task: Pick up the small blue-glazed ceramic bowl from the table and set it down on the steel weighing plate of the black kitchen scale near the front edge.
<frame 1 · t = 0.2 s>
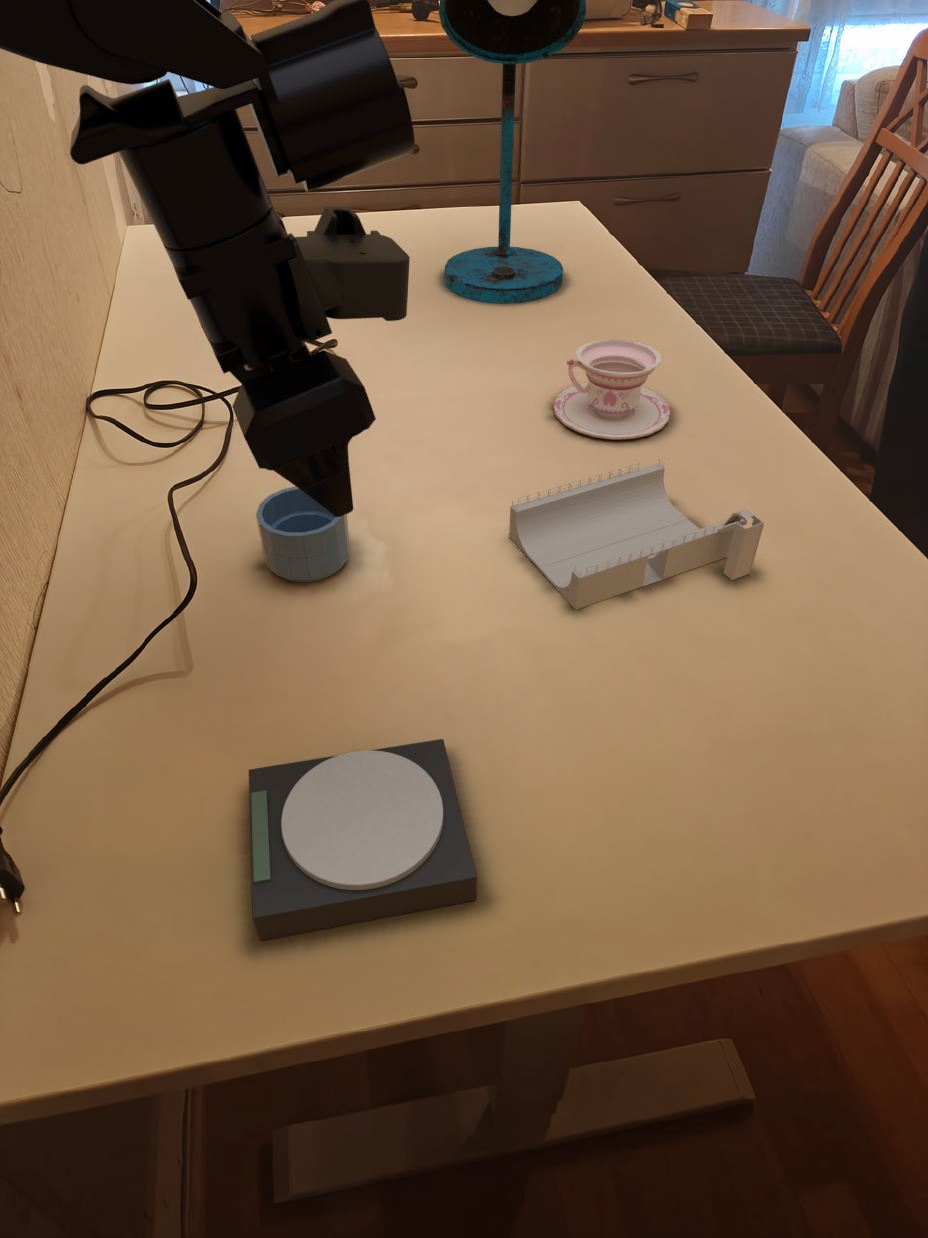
hand: (325, 474, 54), 15 cm above the table, tool pointing down, fingers open, 9 cm apart
desk lamp: (503, 287, 117), on the table
bowl: (308, 559, 72), on the table
skate ramp: (626, 557, 72), on the table
teacup: (610, 414, 91), on the table
scale: (359, 844, 51), on the table
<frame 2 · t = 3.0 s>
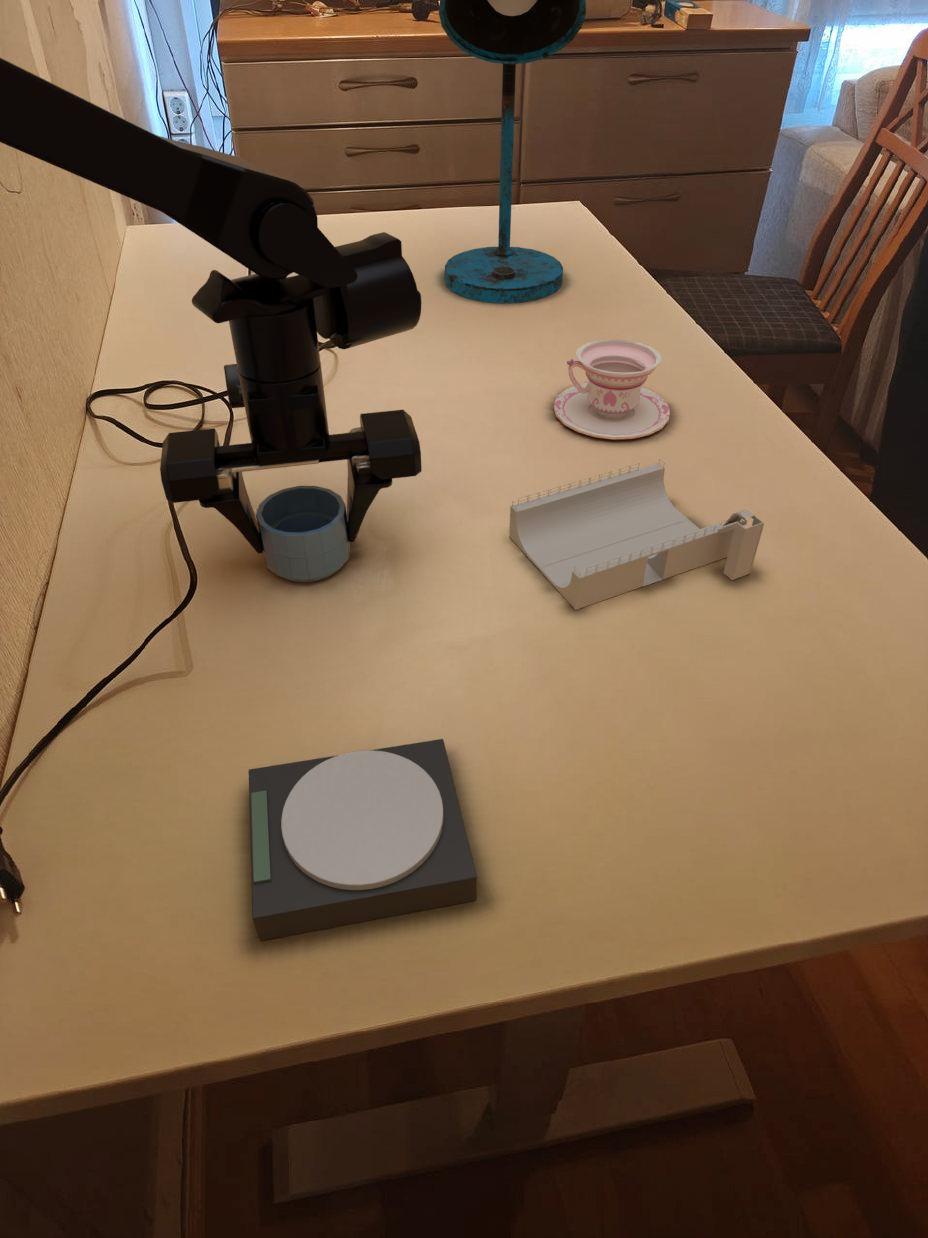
hand: (306, 544, 71), 2 cm above the table, tool pointing down, fingers closed on bowl, 7 cm apart
bowl: (308, 559, 72), on the table, touching gripper
everything else where it was.
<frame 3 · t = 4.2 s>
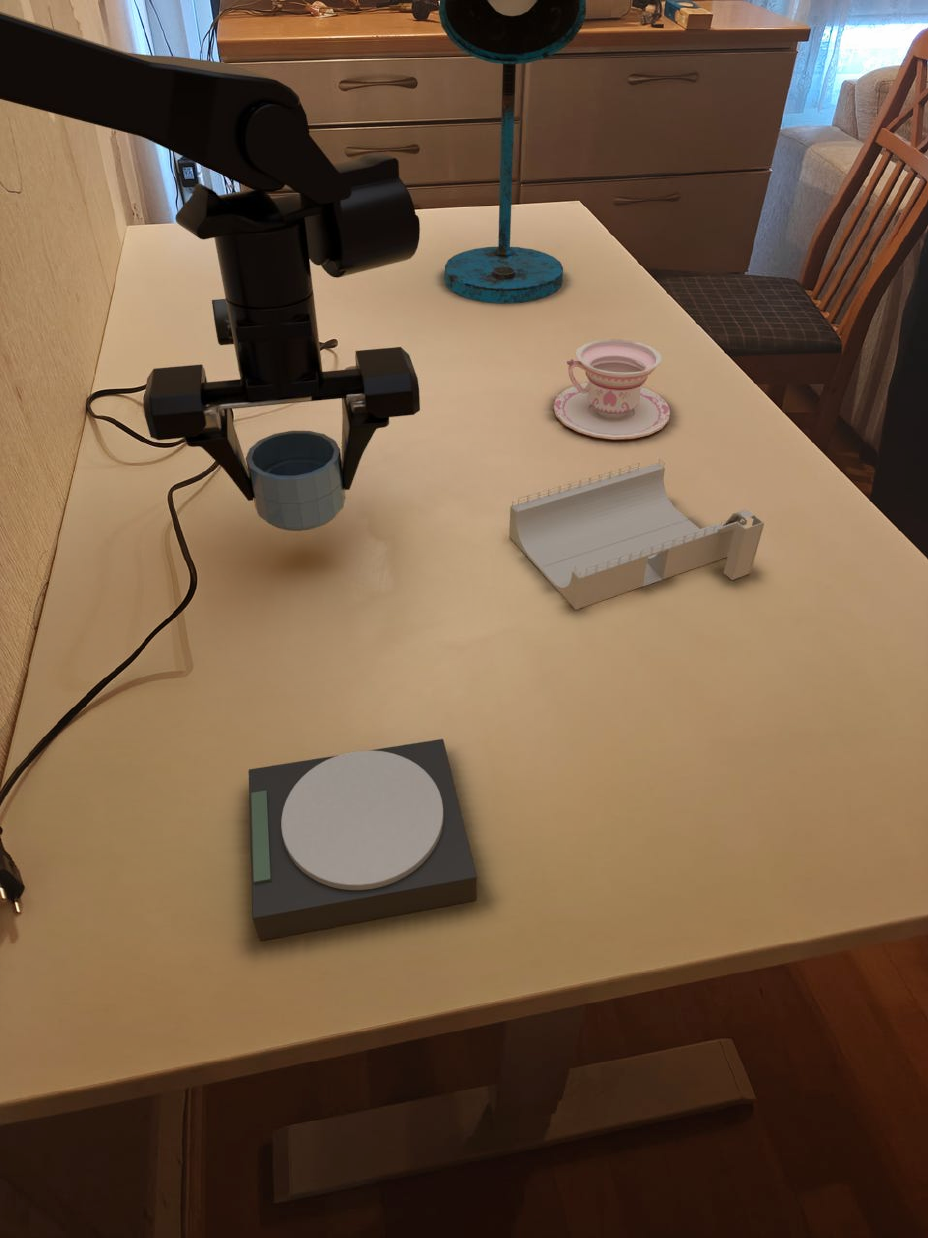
hand: (299, 492, 67), 7 cm above the table, tool pointing down, fingers closed on bowl, 7 cm apart
bowl: (301, 508, 69), point 5 cm above the table, touching gripper
everything else where it was.
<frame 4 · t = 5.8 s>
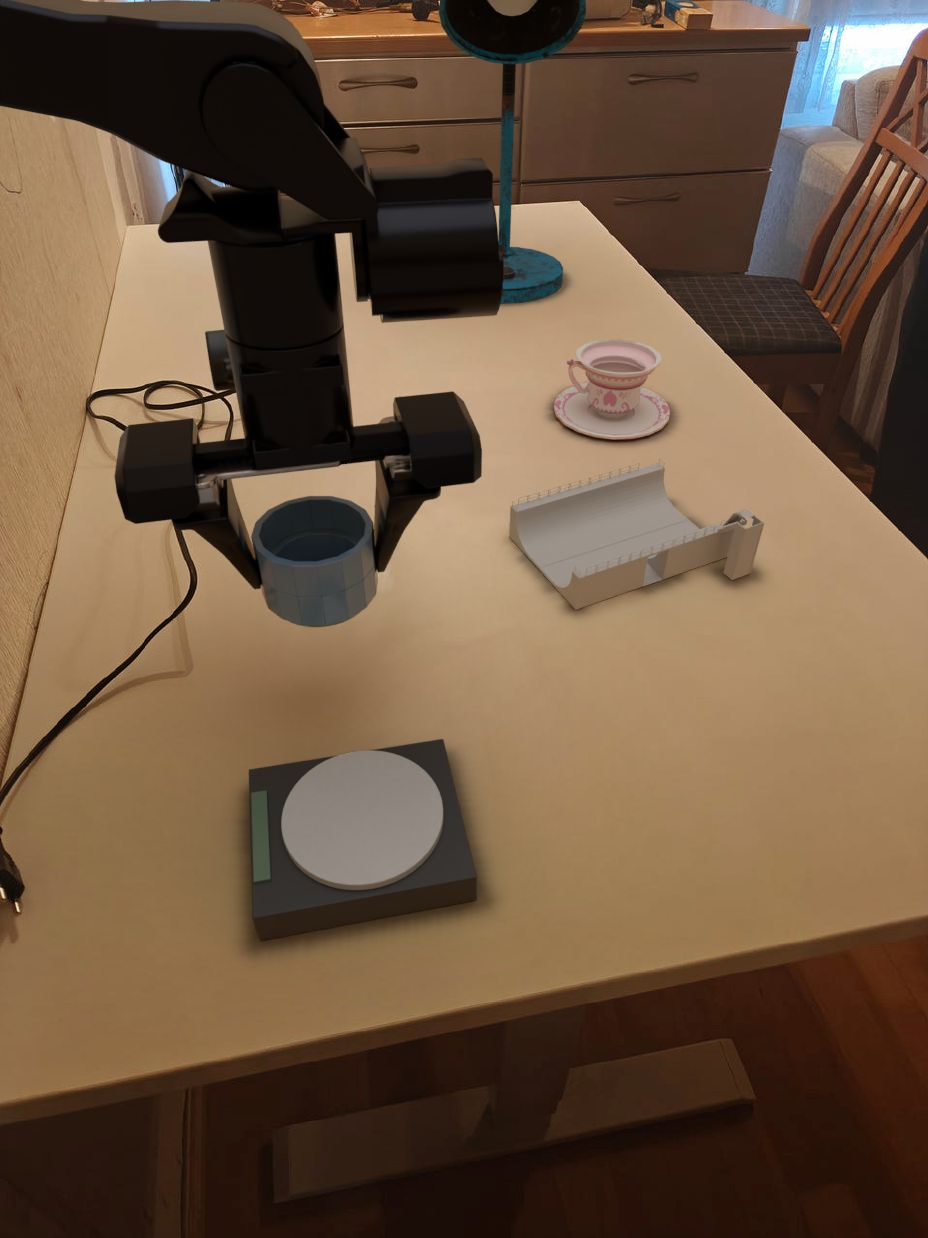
hand: (319, 576, 52), 11 cm above the table, tool pointing down, fingers closed on bowl, 7 cm apart
bowl: (322, 595, 54), point 10 cm above the table, touching gripper
everything else where it was.
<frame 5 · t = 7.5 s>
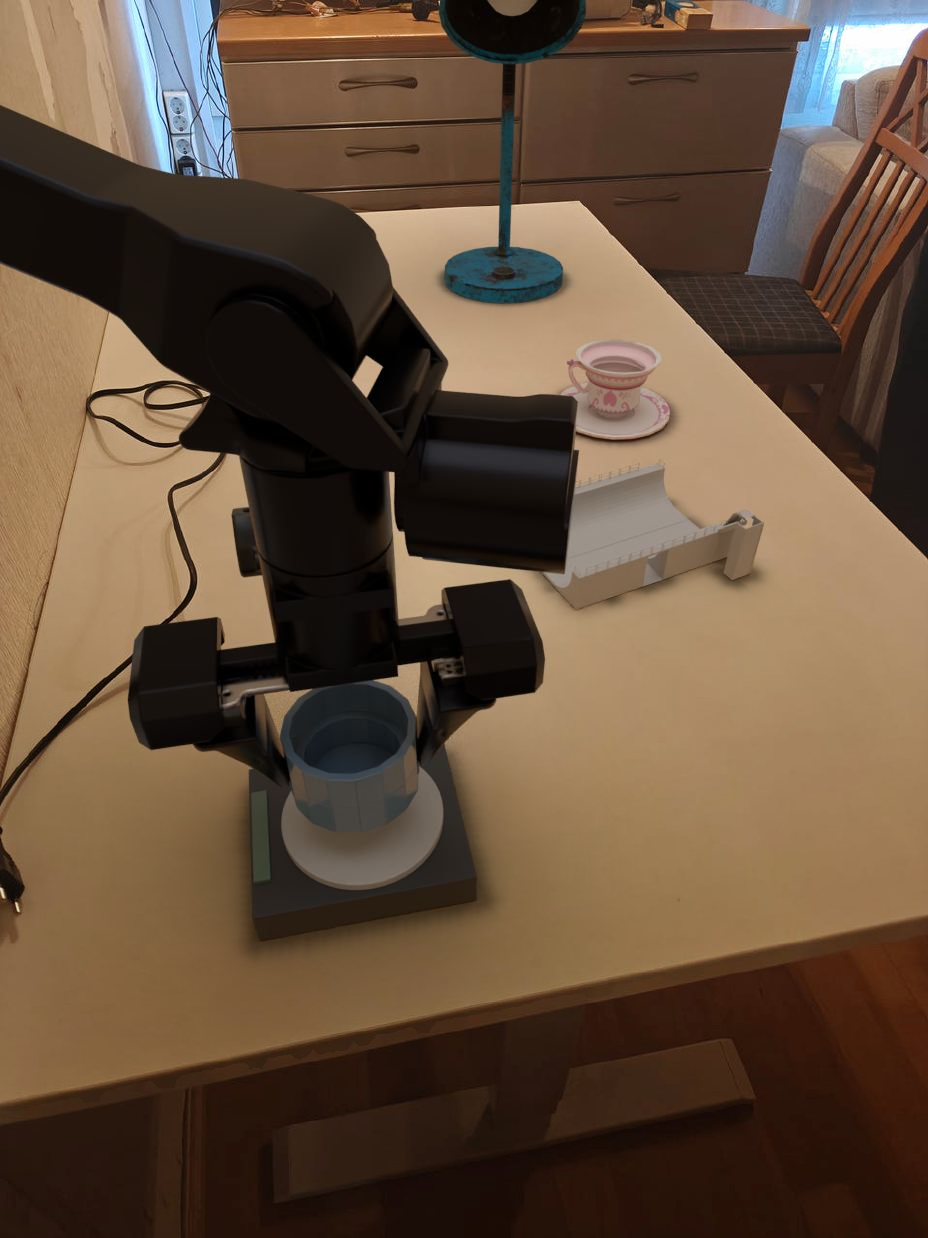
hand: (354, 769, 47), 7 cm above the table, tool pointing down, fingers closed on bowl, 7 cm apart
bowl: (356, 786, 48), point 5 cm above the table, touching gripper
everything else where it was.
when the fingers open (5 cm above the table, at t = 8.8 s): bowl stays where it is, resting on scale.
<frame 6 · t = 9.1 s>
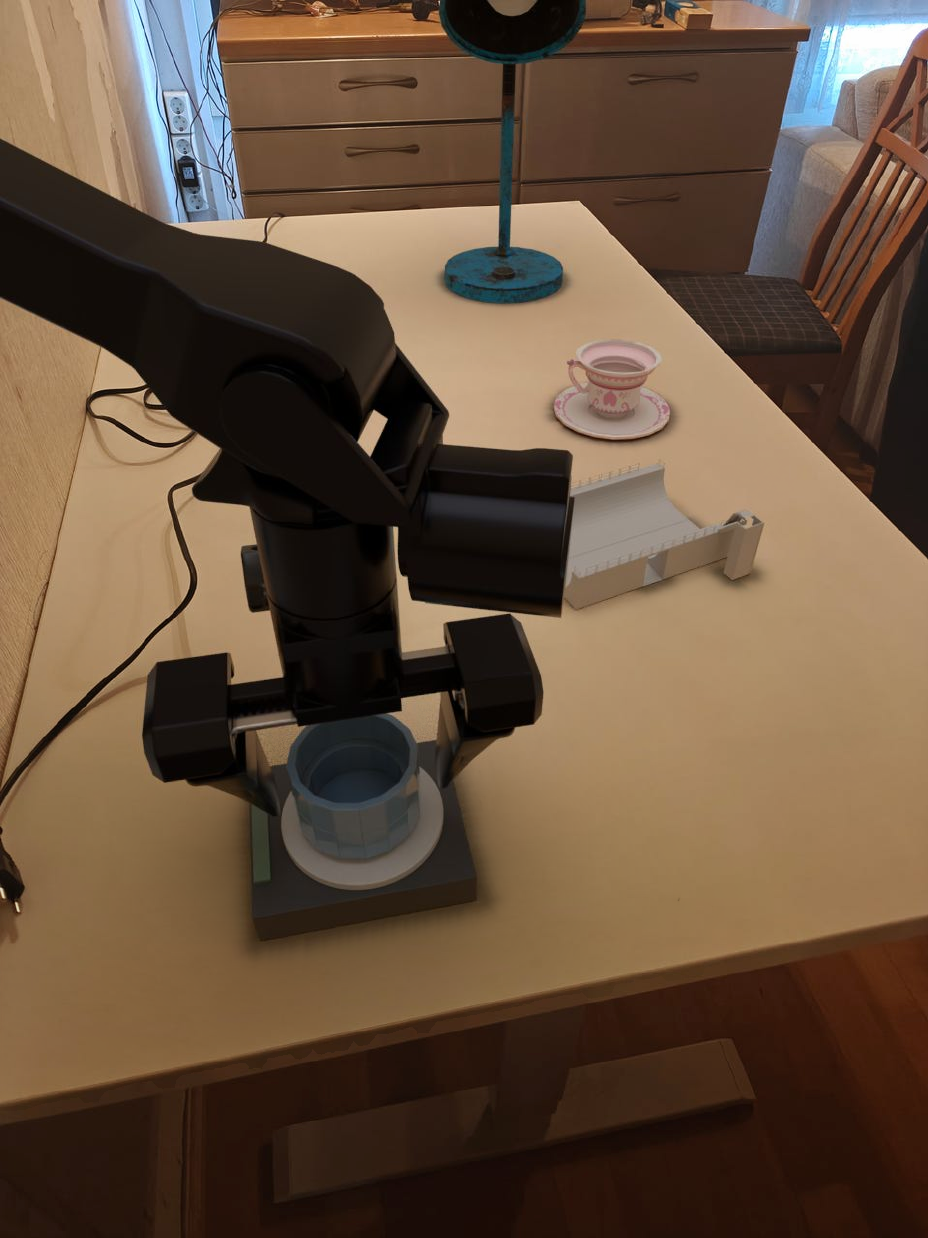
hand: (360, 795, 48), 5 cm above the table, tool pointing down, fingers open, 9 cm apart
bowl: (360, 812, 50), point 3 cm above the table, touching scale
everything else where it was.
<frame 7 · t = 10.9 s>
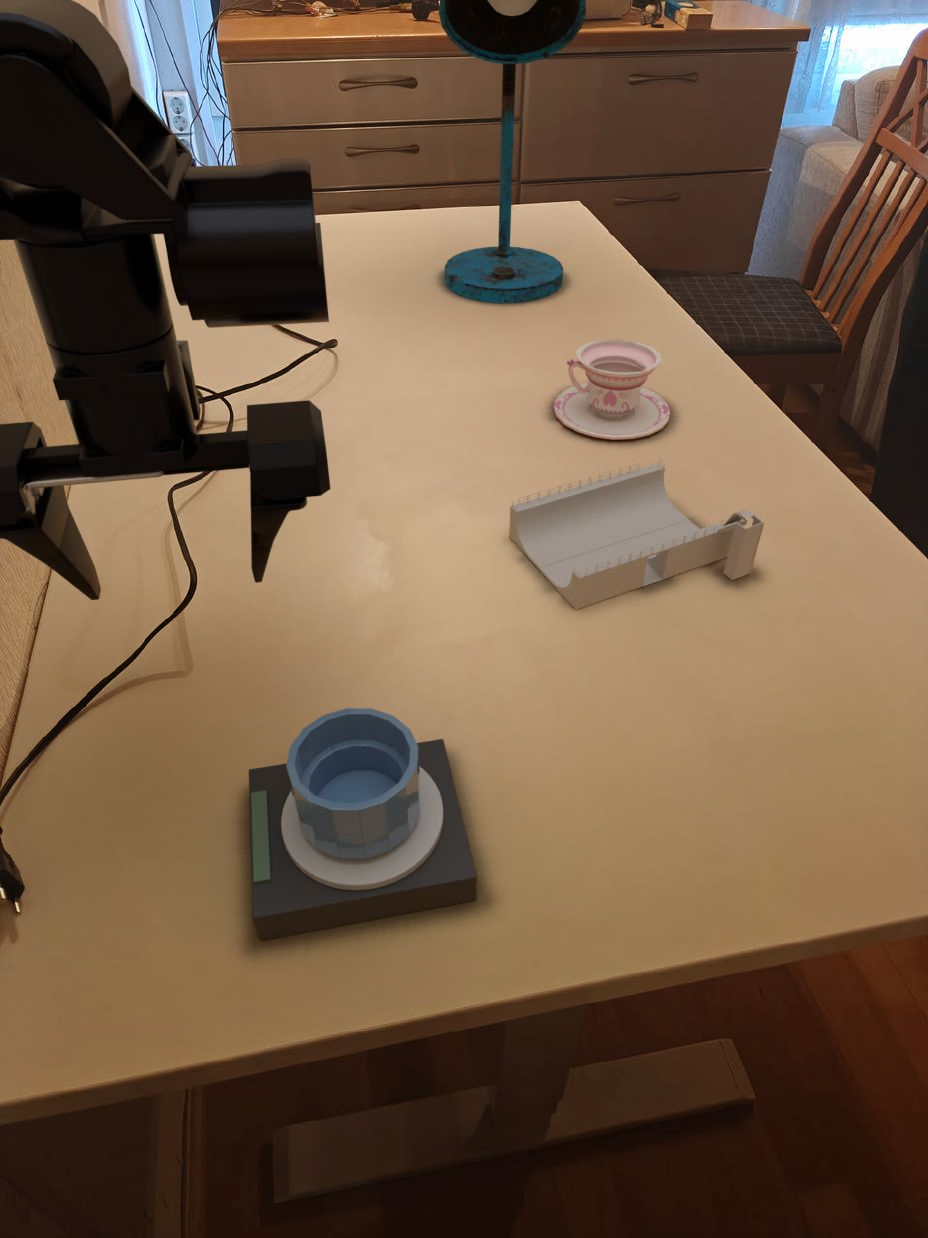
hand: (178, 586, 51), 12 cm above the table, tool pointing down, fingers open, 9 cm apart
nothing on the table moved.
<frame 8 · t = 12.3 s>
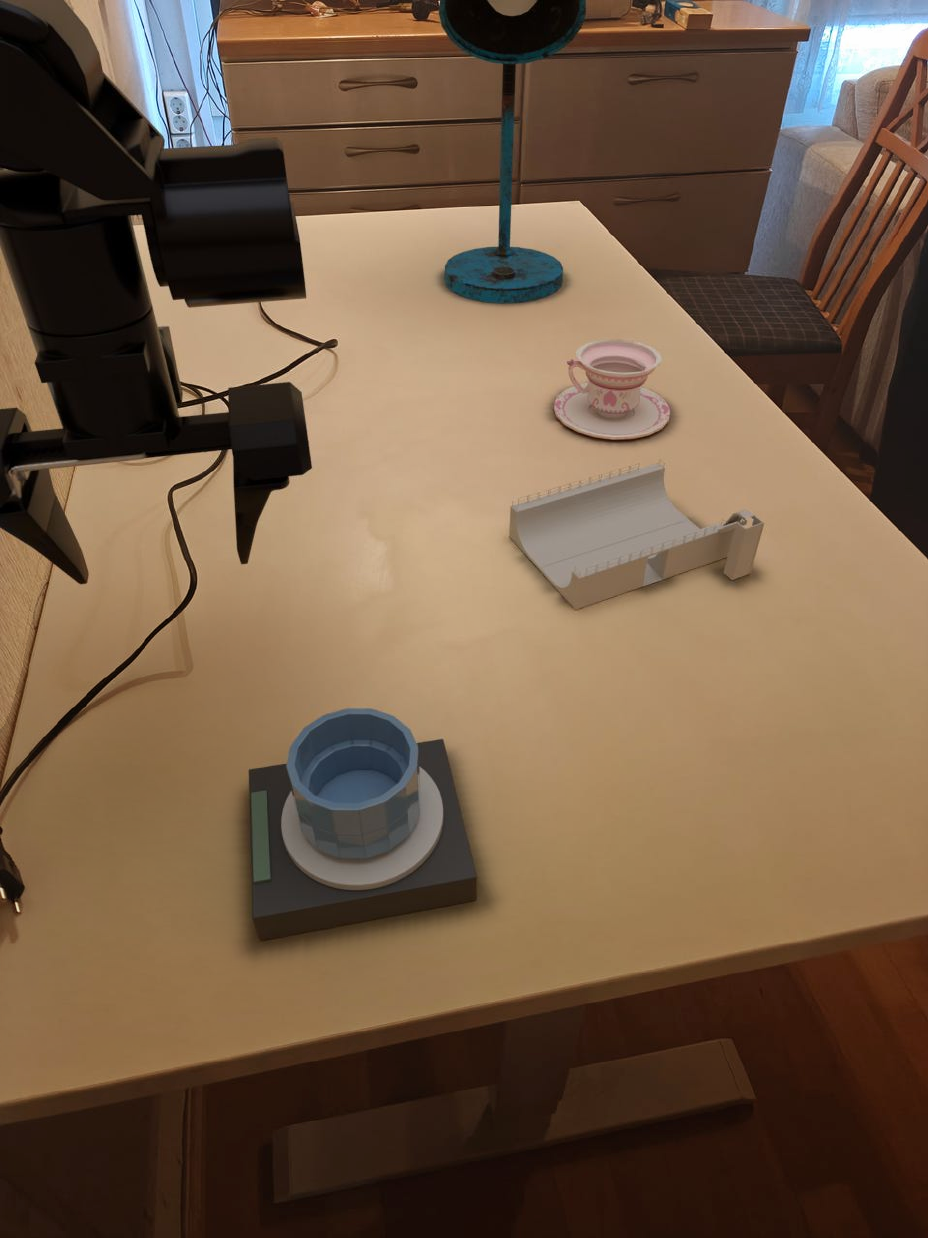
hand: (165, 569, 52), 12 cm above the table, tool pointing down, fingers open, 9 cm apart
nothing on the table moved.
at the end: bowl inside the target area on the scale (0.1 cm from its centre), point 3.0 cm above the scale's base; bowl tilted 0°; the gripper is holding nothing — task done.
